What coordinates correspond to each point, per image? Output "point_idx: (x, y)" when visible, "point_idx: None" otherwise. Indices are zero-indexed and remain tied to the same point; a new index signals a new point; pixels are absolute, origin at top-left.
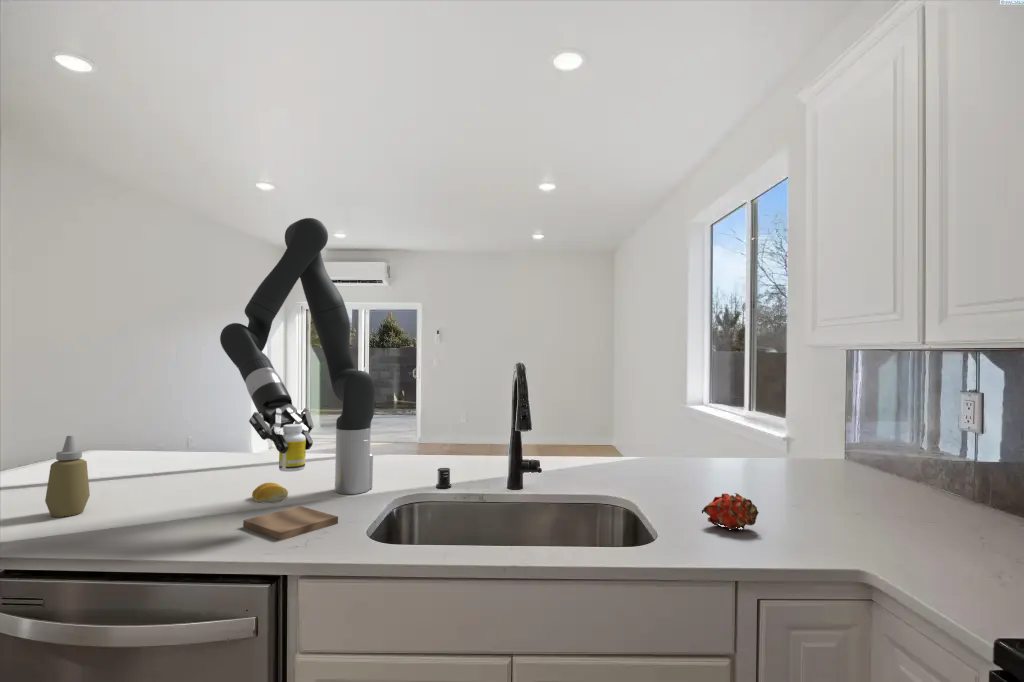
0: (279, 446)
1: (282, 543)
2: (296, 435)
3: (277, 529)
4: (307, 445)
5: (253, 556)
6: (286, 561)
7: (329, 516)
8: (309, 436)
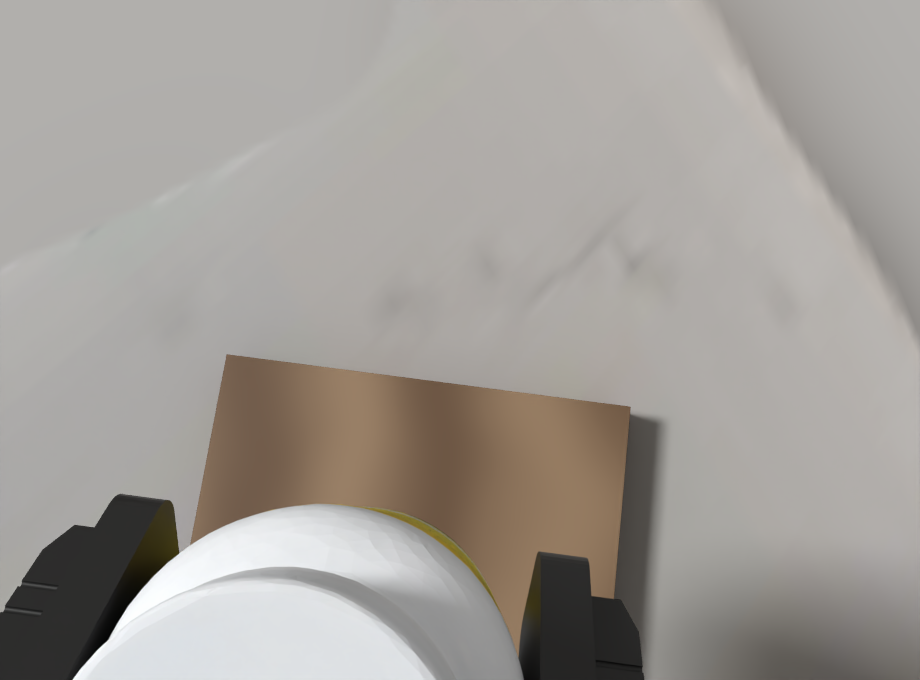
0: (634, 641)
1: (646, 364)
2: (353, 578)
3: (599, 476)
4: (162, 559)
5: (847, 335)
6: (795, 150)
7: (250, 403)
8: (6, 633)
